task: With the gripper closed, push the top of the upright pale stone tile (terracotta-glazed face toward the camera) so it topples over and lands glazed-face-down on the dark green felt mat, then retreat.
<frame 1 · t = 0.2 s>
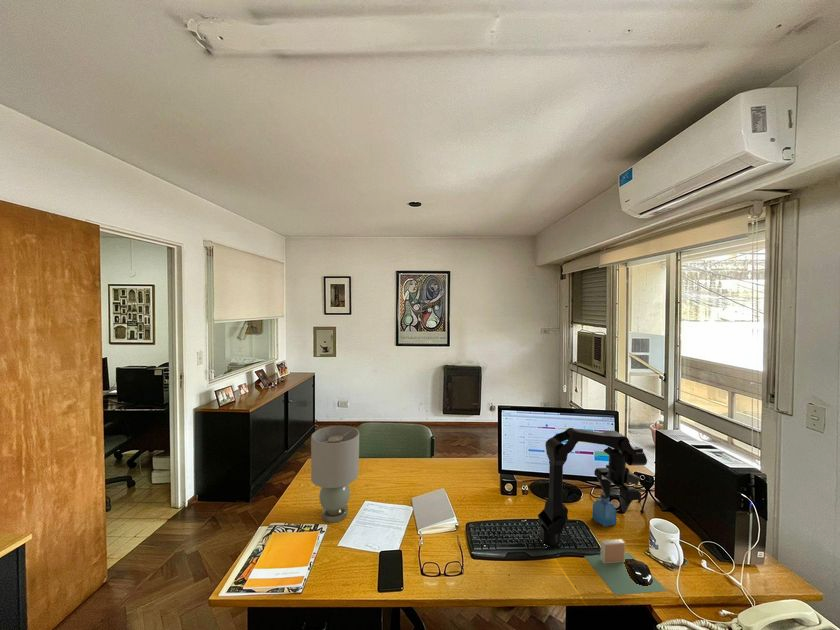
hand: (615, 504, 126), 14 cm above the table, fingers open, 9 cm apart
tile: (612, 560, 115), resting on mat
lamp: (334, 515, 139), on the table
mat: (622, 573, 110), on the table
blue bottle: (604, 522, 137), on the table
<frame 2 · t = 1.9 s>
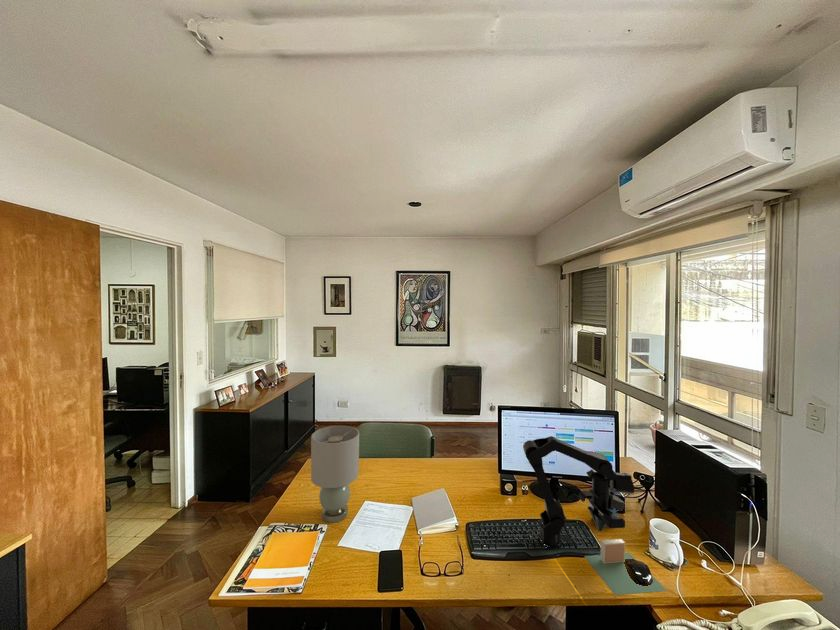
hand: (599, 530, 121), 7 cm above the table, fingers closed
nothing on the table moved.
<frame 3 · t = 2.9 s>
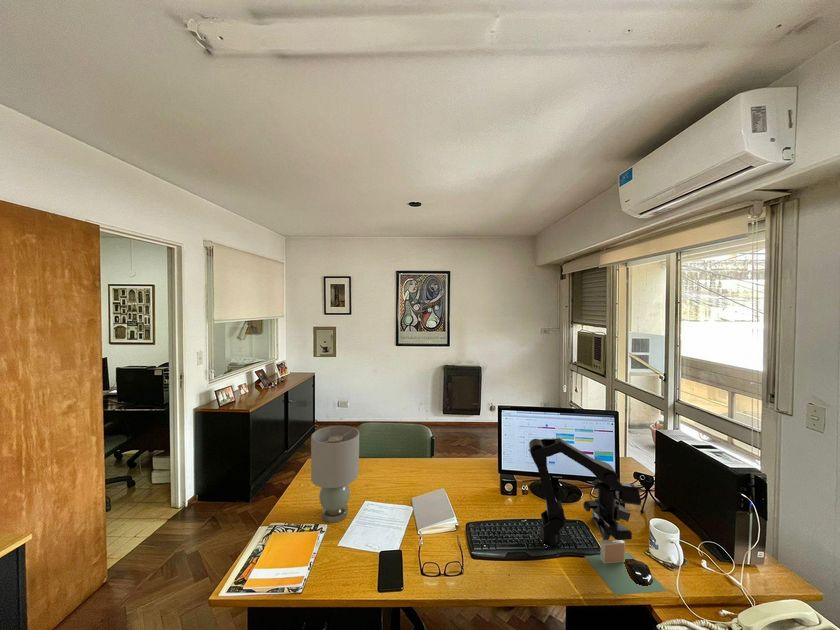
hand: (605, 541, 119), 5 cm above the table, fingers closed
nothing on the table moved.
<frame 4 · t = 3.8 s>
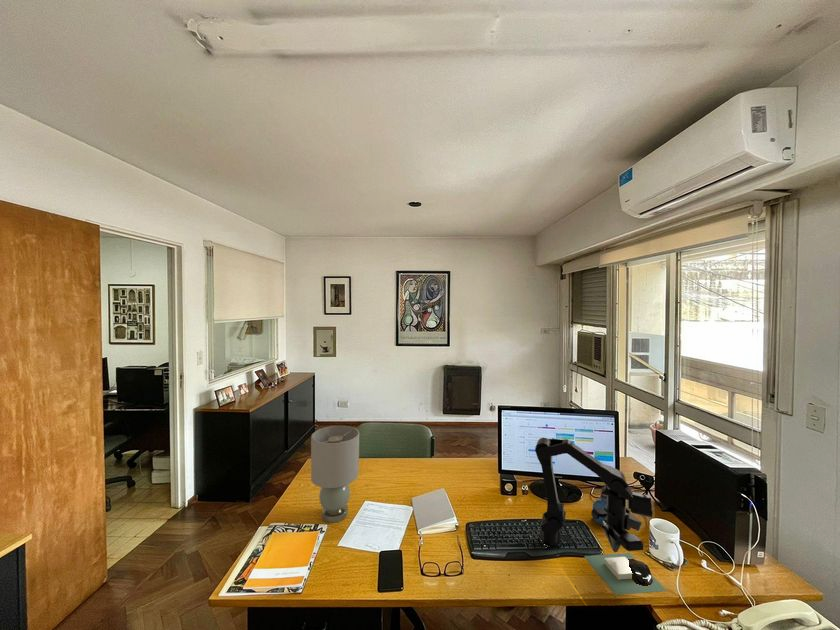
hand: (615, 551, 114), 5 cm above the table, fingers closed
tile: (614, 560, 114), point 1 cm above the table, tilted 90°, touching mat
everything else where it was.
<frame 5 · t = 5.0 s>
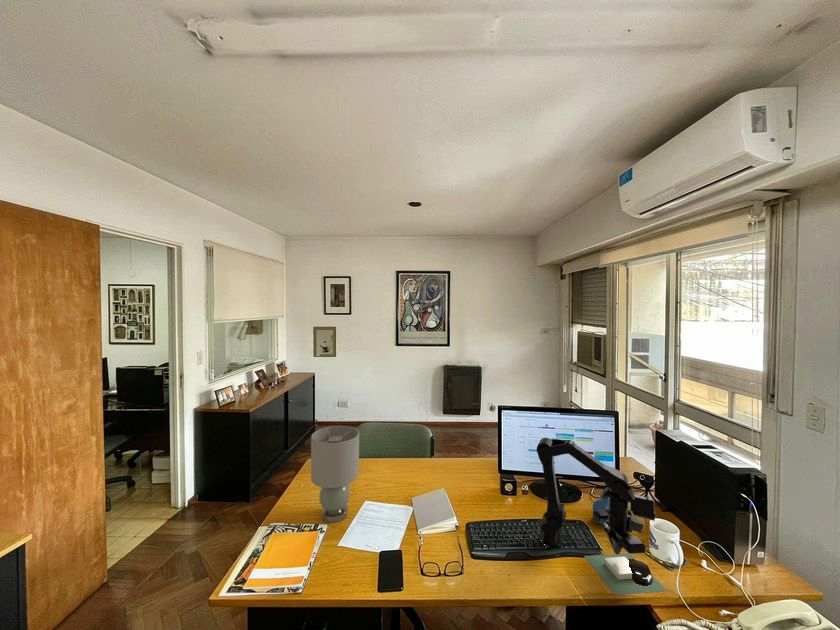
hand: (616, 553, 113), 4 cm above the table, fingers closed
nothing on the table moved.
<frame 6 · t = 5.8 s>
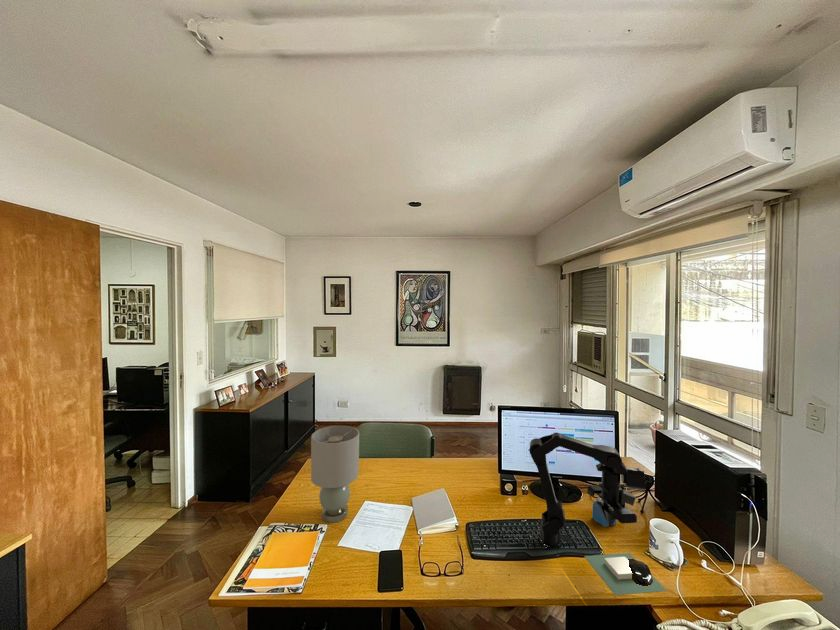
hand: (609, 526, 117), 12 cm above the table, fingers closed
nothing on the table moved.
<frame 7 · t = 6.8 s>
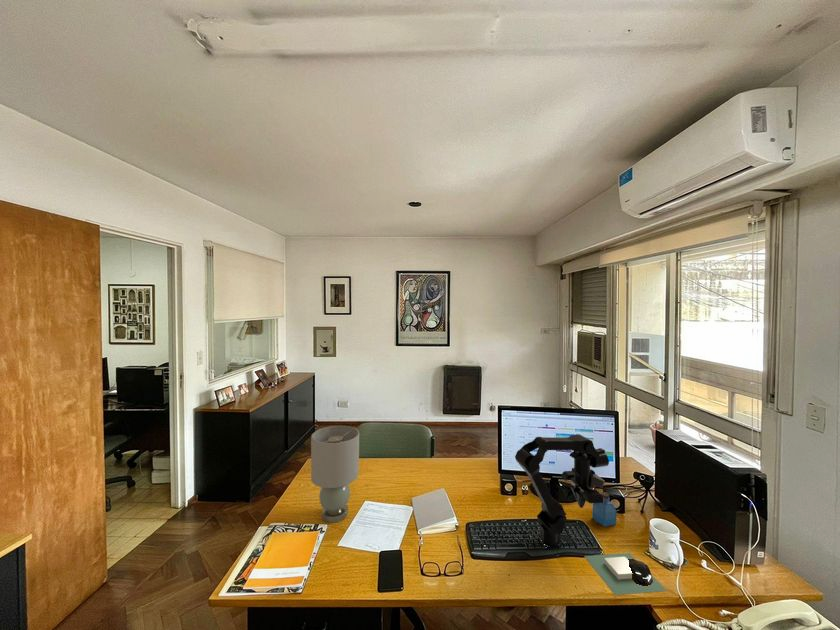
hand: (581, 507, 127), 12 cm above the table, fingers closed
nothing on the table moved.
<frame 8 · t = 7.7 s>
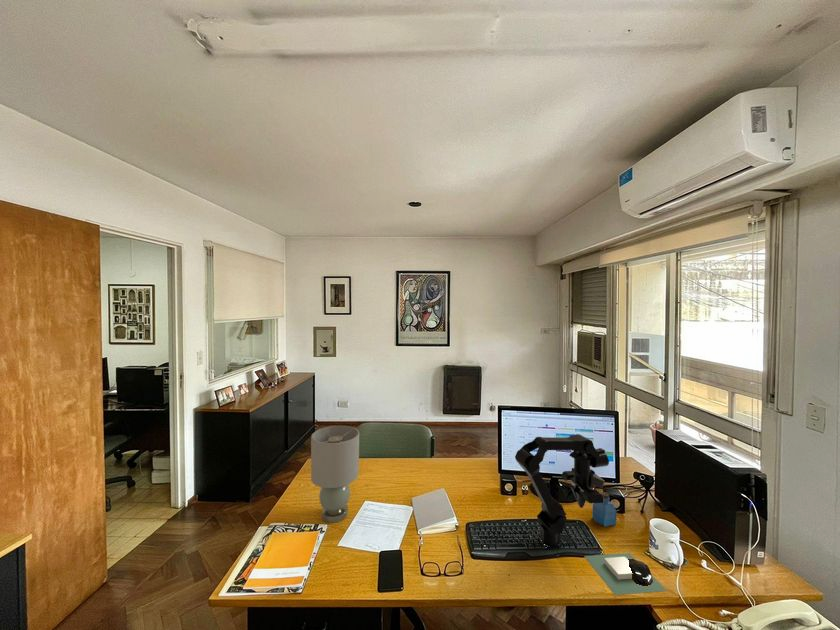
hand: (581, 507, 127), 12 cm above the table, fingers closed
nothing on the table moved.
at the end: tile tilted 90°; tile 4.1 cm from the mat (horizontally); tile point 1.4 cm above the table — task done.
